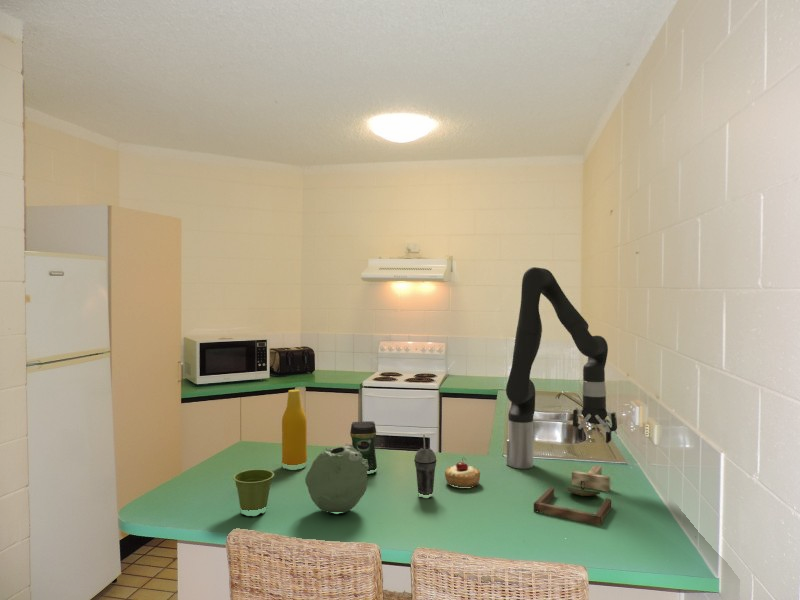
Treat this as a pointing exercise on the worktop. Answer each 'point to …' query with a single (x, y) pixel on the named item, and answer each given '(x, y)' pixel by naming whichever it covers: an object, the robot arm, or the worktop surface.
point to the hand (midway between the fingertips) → (594, 441)
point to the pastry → (462, 475)
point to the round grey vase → (337, 479)
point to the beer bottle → (294, 431)
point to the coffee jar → (365, 441)
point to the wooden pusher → (592, 479)
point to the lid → (583, 491)
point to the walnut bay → (571, 510)
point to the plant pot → (253, 488)
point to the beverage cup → (425, 469)
